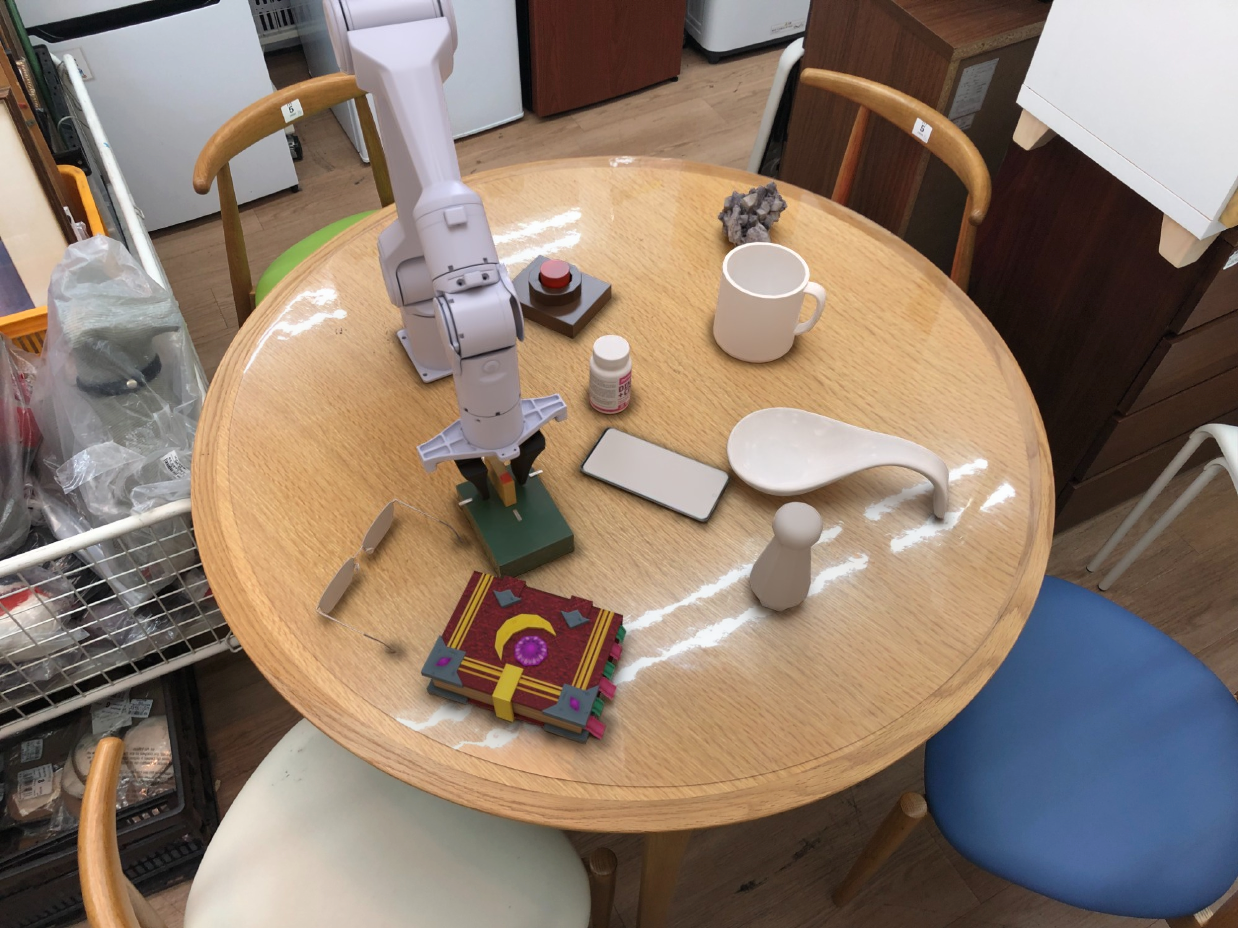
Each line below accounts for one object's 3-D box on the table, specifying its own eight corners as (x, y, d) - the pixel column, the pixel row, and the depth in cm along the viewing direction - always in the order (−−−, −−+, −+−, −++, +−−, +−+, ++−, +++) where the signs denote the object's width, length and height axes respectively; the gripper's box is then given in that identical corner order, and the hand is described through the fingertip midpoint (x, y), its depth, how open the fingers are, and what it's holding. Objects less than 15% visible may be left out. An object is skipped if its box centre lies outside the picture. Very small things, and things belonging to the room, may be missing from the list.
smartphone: (607, 425, 99) (731, 474, 95) (607, 428, 100) (731, 477, 96) (578, 468, 95) (706, 521, 91) (578, 472, 96) (705, 524, 92)
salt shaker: (742, 568, 89) (761, 491, 79) (798, 565, 89) (824, 488, 79) (752, 621, 85) (774, 546, 75) (811, 617, 86) (840, 542, 75)
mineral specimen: (769, 262, 113) (768, 180, 110) (702, 263, 117) (700, 184, 115) (800, 254, 123) (800, 179, 120) (737, 256, 128) (736, 183, 125)
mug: (700, 348, 108) (709, 282, 100) (728, 299, 114) (739, 233, 106) (799, 380, 105) (817, 315, 97) (823, 328, 111) (841, 263, 103)
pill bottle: (625, 418, 101) (628, 366, 94) (585, 411, 101) (584, 358, 95) (633, 388, 104) (636, 335, 97) (594, 382, 104) (594, 328, 98)
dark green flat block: (445, 490, 94) (441, 472, 92) (524, 459, 97) (523, 440, 94) (496, 585, 87) (493, 568, 85) (579, 548, 90) (579, 530, 87)
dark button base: (500, 306, 112) (497, 281, 109) (540, 267, 117) (538, 243, 114) (573, 339, 109) (572, 314, 106) (611, 297, 114) (612, 273, 111)
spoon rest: (715, 500, 94) (723, 458, 88) (732, 420, 101) (740, 376, 96) (942, 547, 91) (966, 506, 85) (943, 460, 98) (965, 417, 93)
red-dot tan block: (486, 472, 92) (482, 449, 89) (496, 468, 92) (493, 445, 89) (506, 507, 89) (503, 484, 86) (516, 503, 89) (514, 479, 86)
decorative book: (478, 590, 87) (473, 563, 83) (636, 638, 84) (638, 612, 80) (427, 694, 80) (419, 670, 76) (597, 750, 77) (597, 728, 73)
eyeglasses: (397, 514, 92) (393, 492, 89) (466, 543, 91) (465, 522, 87) (319, 625, 84) (311, 605, 81) (394, 659, 83) (389, 640, 79)
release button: (535, 282, 110) (534, 271, 108) (551, 267, 112) (550, 255, 110) (559, 293, 109) (558, 282, 107) (575, 277, 111) (575, 265, 109)
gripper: (429, 453, 75) (449, 542, 86) (581, 395, 80) (582, 486, 90) (399, 399, 79) (422, 490, 90) (546, 346, 84) (551, 439, 94)
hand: (500, 485), depth 90 cm, fingers open, 3 cm apart
